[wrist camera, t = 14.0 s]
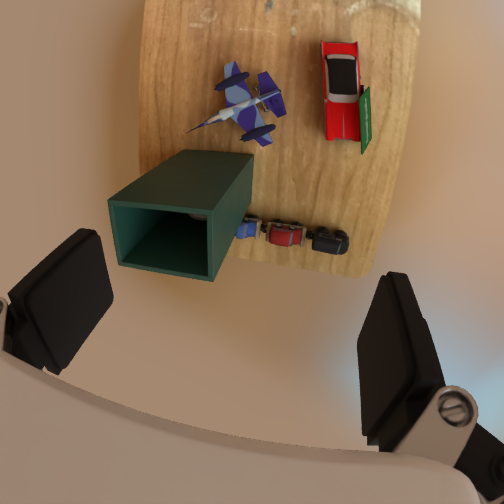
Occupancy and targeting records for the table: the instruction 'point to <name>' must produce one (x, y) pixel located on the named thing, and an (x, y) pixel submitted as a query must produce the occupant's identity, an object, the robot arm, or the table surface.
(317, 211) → the table surface
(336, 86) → the toy car
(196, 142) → the table surface
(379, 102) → the table surface
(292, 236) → the toy train
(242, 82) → the toy airplane
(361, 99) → the business card
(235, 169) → the bin
